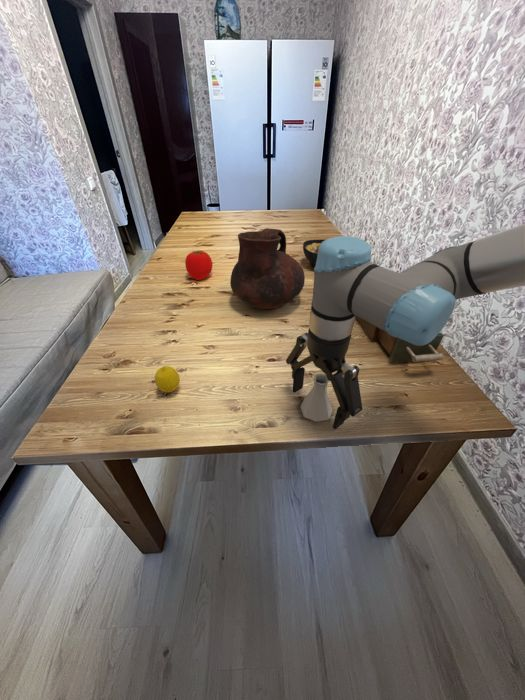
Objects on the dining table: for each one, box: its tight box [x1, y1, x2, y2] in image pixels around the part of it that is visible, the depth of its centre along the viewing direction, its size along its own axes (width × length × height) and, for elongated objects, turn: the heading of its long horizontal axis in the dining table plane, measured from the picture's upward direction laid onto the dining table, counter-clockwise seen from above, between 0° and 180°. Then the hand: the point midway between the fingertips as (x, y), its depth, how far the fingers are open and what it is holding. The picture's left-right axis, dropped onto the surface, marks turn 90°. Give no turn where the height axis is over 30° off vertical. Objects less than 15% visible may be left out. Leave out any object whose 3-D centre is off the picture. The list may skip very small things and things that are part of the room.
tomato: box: [184, 250, 214, 281], centre depth 113 cm, size 10×11×11 cm
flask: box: [300, 373, 333, 423], centre depth 62 cm, size 7×7×10 cm
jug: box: [229, 227, 306, 310], centre depth 94 cm, size 25×25×25 cm
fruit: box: [154, 365, 181, 393], centre depth 67 cm, size 6×6×8 cm
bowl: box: [302, 239, 326, 268], centre depth 121 cm, size 17×17×10 cm
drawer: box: [376, 328, 445, 364], centre depth 76 cm, size 19×12×8 cm, turn 7°
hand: (316, 406), depth 64 cm, fingers open, 12 cm apart
